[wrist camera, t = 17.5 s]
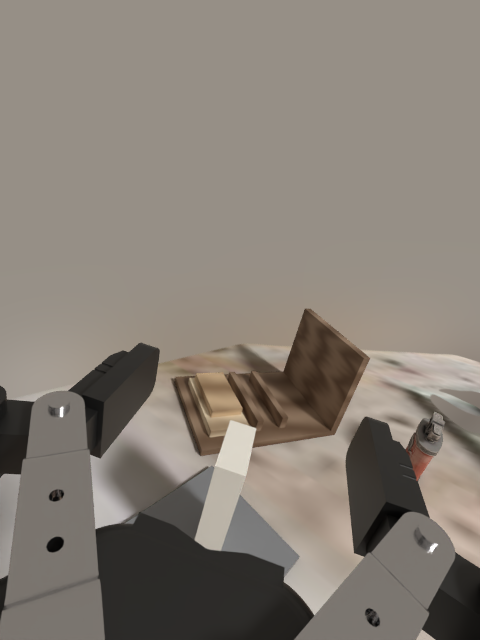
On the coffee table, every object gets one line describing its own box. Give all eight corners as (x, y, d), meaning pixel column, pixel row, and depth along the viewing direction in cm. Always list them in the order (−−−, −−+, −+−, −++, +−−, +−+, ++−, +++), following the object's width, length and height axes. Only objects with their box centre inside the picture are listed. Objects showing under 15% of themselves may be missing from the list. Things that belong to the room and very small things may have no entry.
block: (211, 578, 32) (245, 476, 26) (186, 569, 32) (215, 465, 26) (224, 523, 37) (256, 428, 31) (203, 516, 37) (230, 419, 31)
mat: (107, 538, 33) (107, 534, 33) (210, 469, 43) (211, 465, 43) (196, 686, 25) (198, 683, 25) (297, 559, 36) (299, 556, 35)
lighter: (400, 449, 55) (428, 401, 51) (421, 460, 54) (452, 413, 50) (392, 480, 49) (423, 428, 45) (416, 494, 47) (450, 443, 43)
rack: (334, 434, 55) (370, 358, 48) (200, 455, 45) (223, 363, 38) (287, 375, 68) (310, 308, 61) (174, 381, 58) (188, 302, 51)
